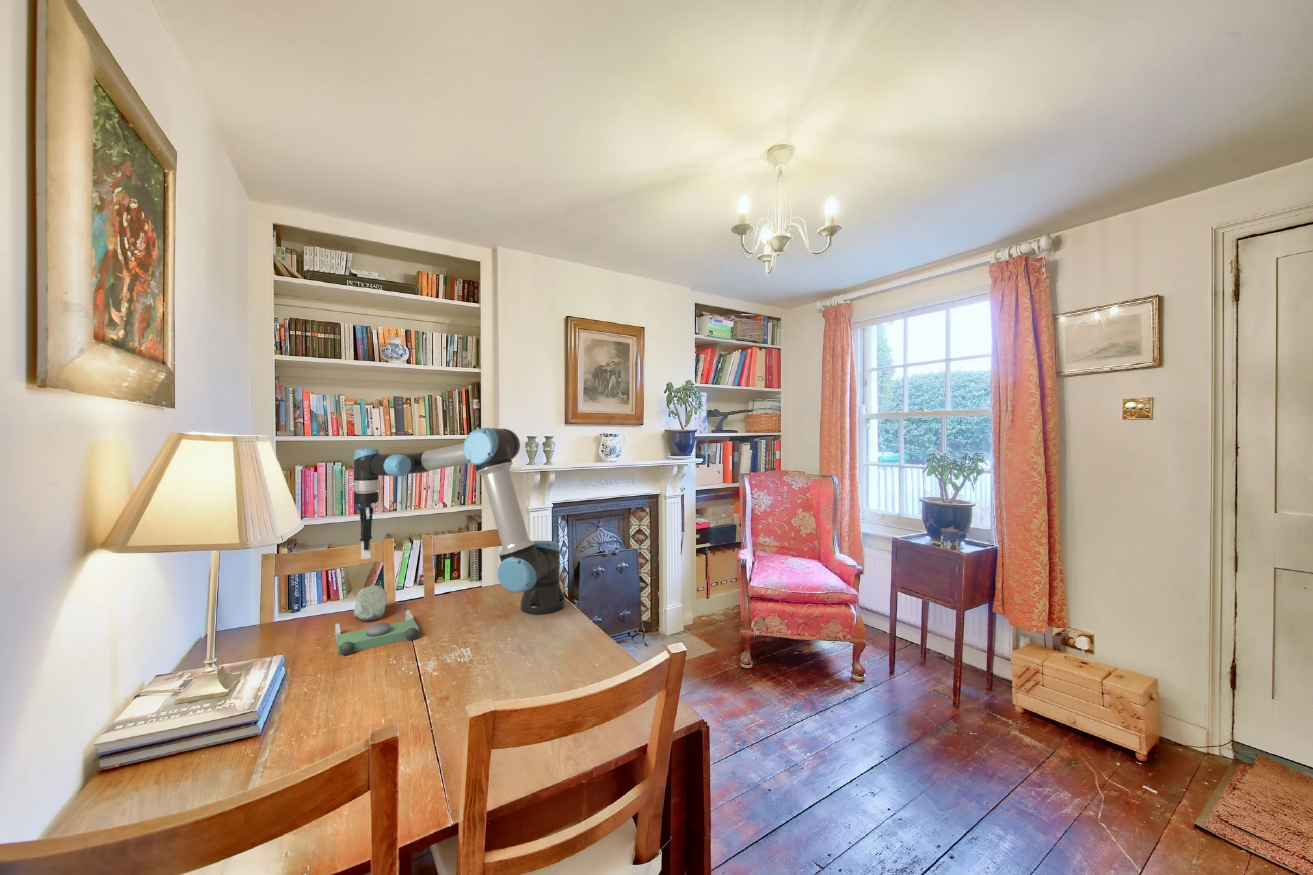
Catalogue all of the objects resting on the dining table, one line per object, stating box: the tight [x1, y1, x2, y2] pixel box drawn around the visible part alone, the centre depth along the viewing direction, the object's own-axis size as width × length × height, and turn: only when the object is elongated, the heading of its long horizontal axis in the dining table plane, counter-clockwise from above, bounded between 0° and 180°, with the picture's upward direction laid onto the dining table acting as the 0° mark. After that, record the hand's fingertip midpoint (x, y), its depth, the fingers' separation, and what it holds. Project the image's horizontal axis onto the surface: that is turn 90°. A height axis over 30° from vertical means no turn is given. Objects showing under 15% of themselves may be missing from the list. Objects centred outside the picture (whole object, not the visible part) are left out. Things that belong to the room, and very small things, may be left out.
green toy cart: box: [334, 609, 420, 656], centre depth 141 cm, size 20×19×4 cm
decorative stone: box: [353, 584, 388, 622], centre depth 157 cm, size 13×11×10 cm
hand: (365, 558), depth 167 cm, fingers closed
